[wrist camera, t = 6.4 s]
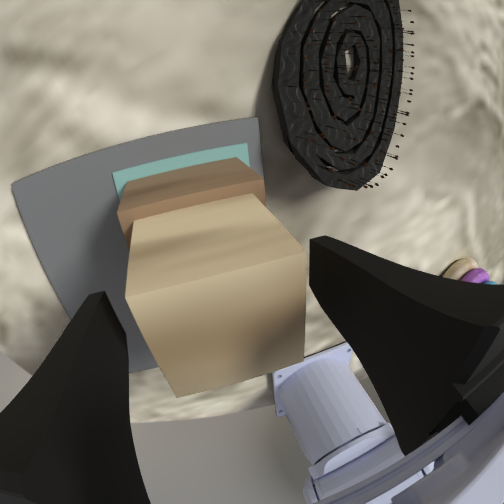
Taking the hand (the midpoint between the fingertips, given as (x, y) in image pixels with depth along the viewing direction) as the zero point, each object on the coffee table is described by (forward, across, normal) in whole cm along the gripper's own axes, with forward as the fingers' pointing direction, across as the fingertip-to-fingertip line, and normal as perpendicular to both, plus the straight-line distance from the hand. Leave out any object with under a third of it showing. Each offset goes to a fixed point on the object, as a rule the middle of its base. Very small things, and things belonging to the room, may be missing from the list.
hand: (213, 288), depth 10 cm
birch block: (+2, 0, 0) cm, 2 cm away
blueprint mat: (+7, +2, +3) cm, 8 cm away
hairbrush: (+7, -12, -12) cm, 19 cm away
